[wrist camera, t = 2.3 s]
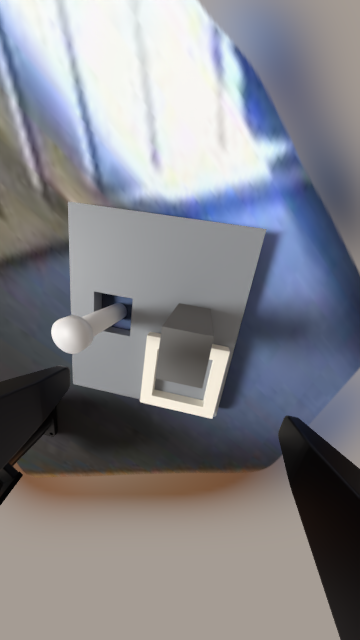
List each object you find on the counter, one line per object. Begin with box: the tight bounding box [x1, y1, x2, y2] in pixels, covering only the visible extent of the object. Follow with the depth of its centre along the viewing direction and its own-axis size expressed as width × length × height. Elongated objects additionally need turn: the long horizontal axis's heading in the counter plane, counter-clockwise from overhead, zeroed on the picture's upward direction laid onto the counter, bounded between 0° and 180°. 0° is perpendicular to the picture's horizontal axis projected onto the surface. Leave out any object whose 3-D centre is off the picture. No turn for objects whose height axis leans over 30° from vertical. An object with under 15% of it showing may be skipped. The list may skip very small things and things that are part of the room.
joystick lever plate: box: [140, 303, 230, 419], centre depth 15 cm, size 11×8×7 cm
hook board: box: [51, 202, 266, 417], centre depth 16 cm, size 19×17×8 cm
